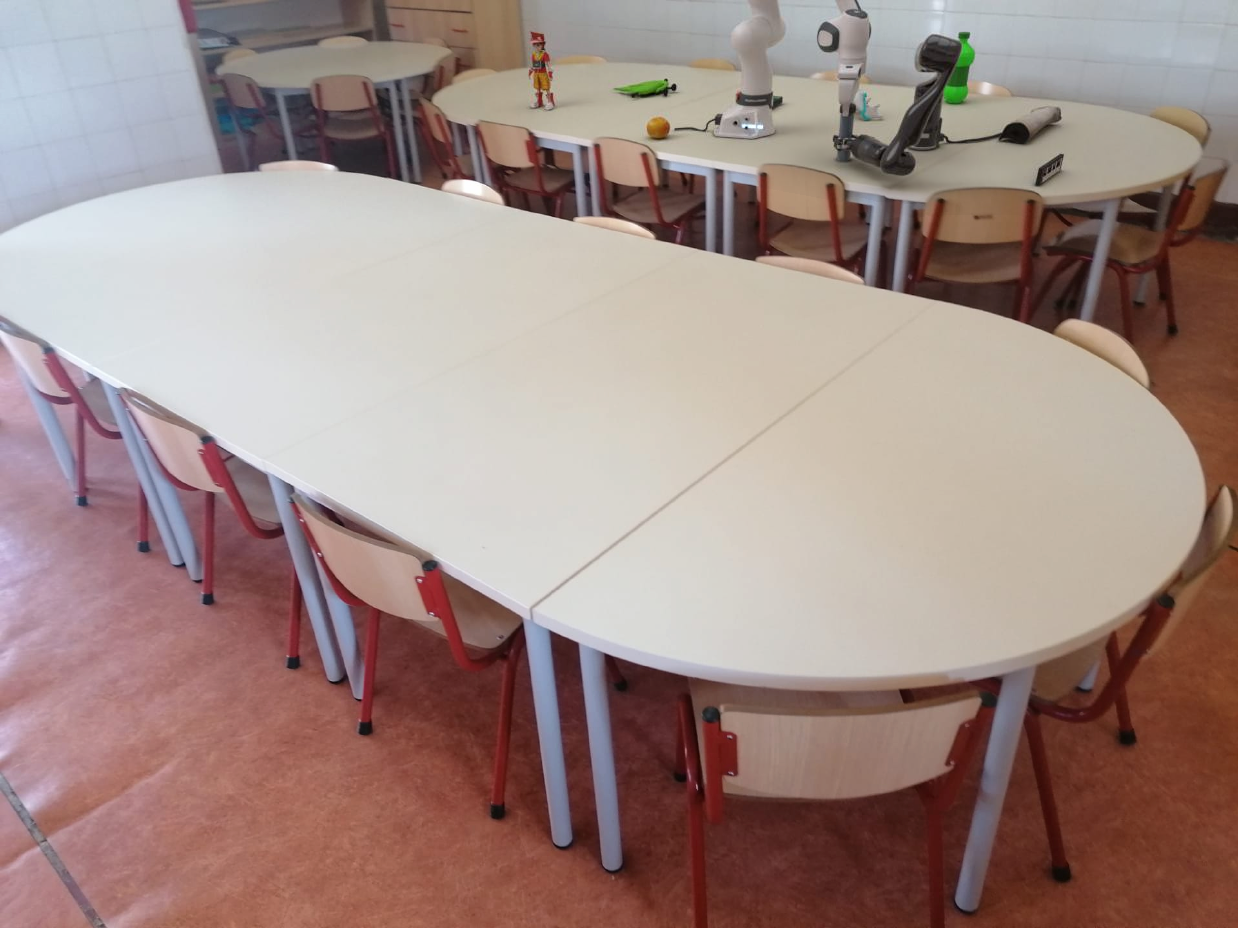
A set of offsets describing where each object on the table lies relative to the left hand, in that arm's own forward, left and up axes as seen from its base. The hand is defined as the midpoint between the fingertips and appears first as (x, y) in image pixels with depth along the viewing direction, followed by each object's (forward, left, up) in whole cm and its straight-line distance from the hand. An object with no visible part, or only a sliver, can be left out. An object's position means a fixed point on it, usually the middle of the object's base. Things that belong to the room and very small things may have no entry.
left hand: (847, 112), depth 292 cm
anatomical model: (+6, +57, -15) cm, 59 cm away
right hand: (-2, +2, -8) cm, 9 cm away
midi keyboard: (+62, -15, -15) cm, 66 cm away
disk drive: (-34, +71, -15) cm, 80 cm away
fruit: (-68, +24, -15) cm, 74 cm away
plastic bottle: (+40, +80, -15) cm, 90 cm away
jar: (0, 0, -15) cm, 15 cm away
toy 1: (-128, +68, -15) cm, 146 cm away
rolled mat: (+63, +36, -15) cm, 74 cm away
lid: (0, 0, +2) cm, 2 cm away
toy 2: (-91, +96, -15) cm, 133 cm away
